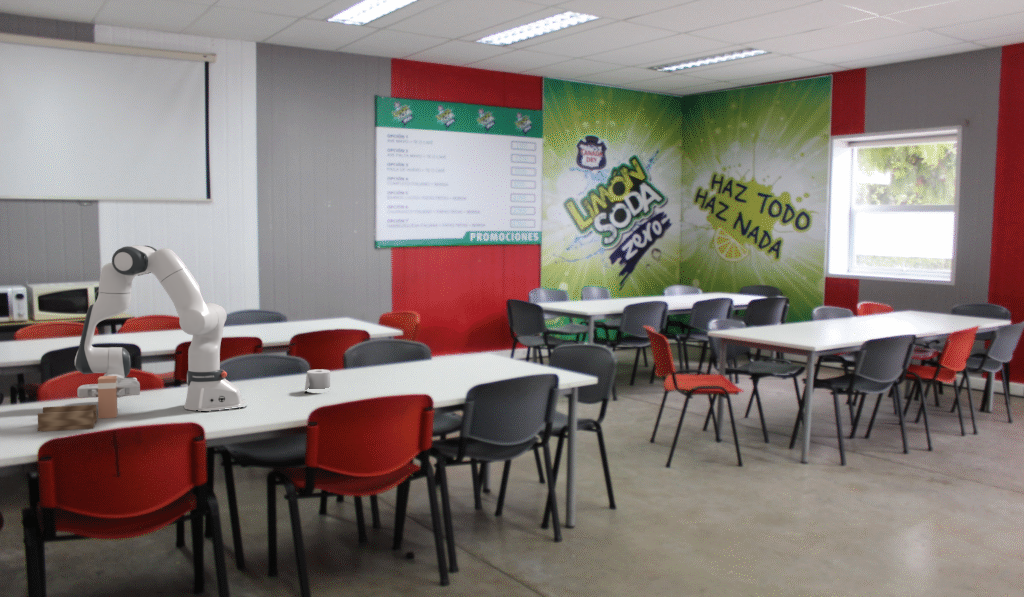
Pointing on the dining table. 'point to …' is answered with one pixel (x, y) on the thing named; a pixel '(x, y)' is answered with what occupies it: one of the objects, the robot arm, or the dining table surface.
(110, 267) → the robot arm
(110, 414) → the carton
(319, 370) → the toilet tissue
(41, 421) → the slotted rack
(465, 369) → the dining table surface
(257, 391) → the dining table surface
